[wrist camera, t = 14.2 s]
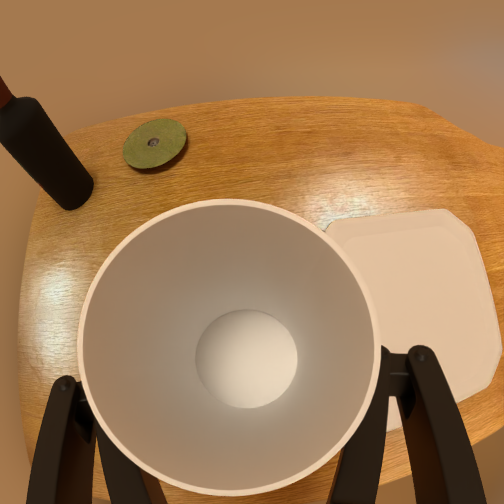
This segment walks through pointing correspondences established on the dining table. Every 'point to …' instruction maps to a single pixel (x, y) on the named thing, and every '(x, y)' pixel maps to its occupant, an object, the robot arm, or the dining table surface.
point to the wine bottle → (42, 150)
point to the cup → (229, 347)
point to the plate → (427, 292)
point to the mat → (154, 143)
